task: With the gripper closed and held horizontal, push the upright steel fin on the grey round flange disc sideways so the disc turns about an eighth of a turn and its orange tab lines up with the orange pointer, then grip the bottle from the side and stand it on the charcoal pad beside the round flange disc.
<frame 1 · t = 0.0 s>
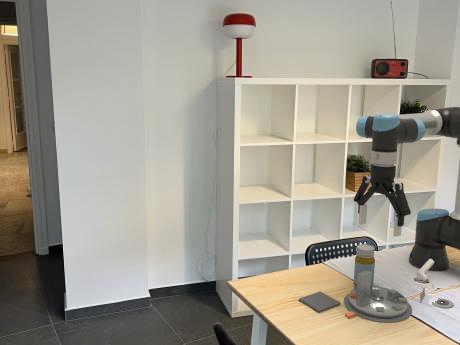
hand: (379, 229, 142), 28 cm above the table, tool pointing down, fingers open, 13 cm apart
pointer: (350, 316, 144), on the table
bracket: (435, 303, 153), on the table
round flange disc: (378, 286, 149), point 7 cm above the table, hinge at 0.0°
hook: (421, 284, 167), on the table
bottle: (363, 285, 166), on the table
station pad: (319, 302, 153), on the table
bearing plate: (377, 305, 151), on the table
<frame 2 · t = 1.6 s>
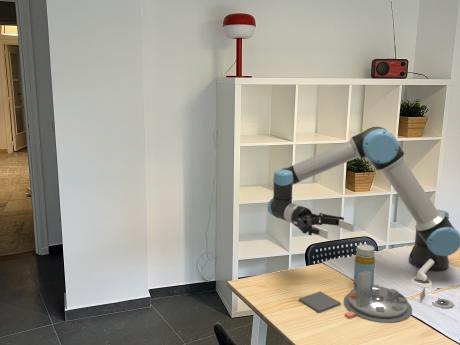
hand: (340, 231, 152), 24 cm above the table, tool horizontal, fingers open, 12 cm apart
nothing on the table moved.
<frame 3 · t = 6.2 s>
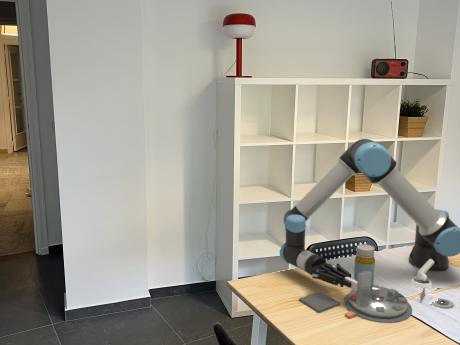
hand: (360, 288, 146), 8 cm above the table, tool horizontal, fingers closed
round flange disc: (378, 286, 149), point 7 cm above the table, hinge at 0.3°, touching gripper
everything else where it was.
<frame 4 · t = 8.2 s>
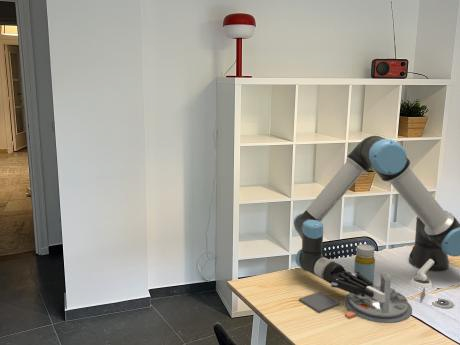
hand: (383, 298, 139), 8 cm above the table, tool horizontal, fingers closed
round flange disc: (378, 286, 149), point 7 cm above the table, hinge at 54.6°, touching gripper
everything else where it was.
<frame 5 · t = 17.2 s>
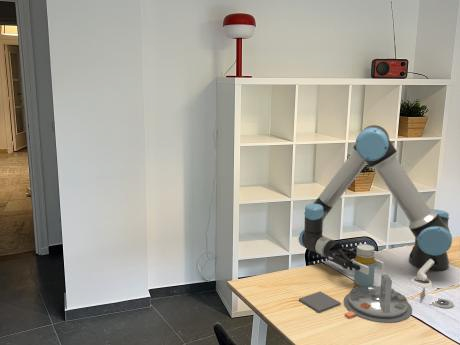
hand: (375, 268, 160), 9 cm above the table, tool horizontal, fingers closed on bottle, 7 cm apart
round flange disc: (378, 286, 149), point 7 cm above the table, hinge at 56.5°
bottle: (363, 285, 166), on the table, touching gripper
everything else where it was.
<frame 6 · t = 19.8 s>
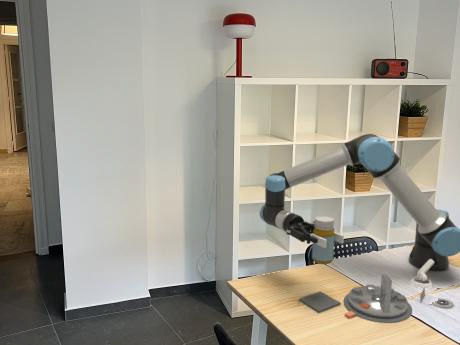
hand: (334, 241, 146), 23 cm above the table, tool horizontal, fingers closed on bottle, 7 cm apart
bottle: (322, 261, 152), point 14 cm above the table, touching gripper
everything else where it was.
when the fingers open (10 cm above the table, at t = 22.6 s): bottle drops 1 cm, resting on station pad.
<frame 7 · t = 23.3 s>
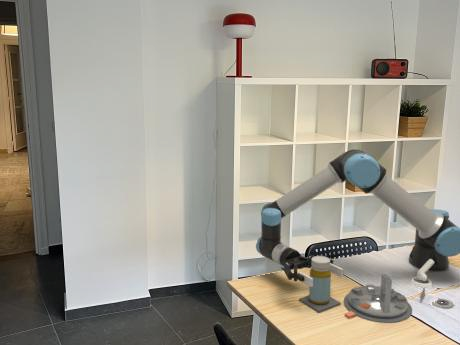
hand: (327, 277, 148), 10 cm above the table, tool horizontal, fingers open, 13 cm apart
bottle: (319, 300, 153), point 1 cm above the table, touching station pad
everything else where it was.
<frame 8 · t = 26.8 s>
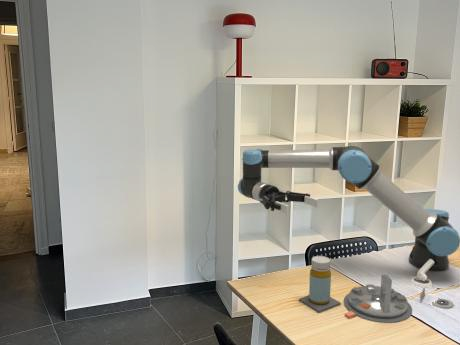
hand: (303, 206, 154), 32 cm above the table, tool horizontal, fingers open, 13 cm apart
nothing on the table moved.
at the end: round flange disc at +56° (first picture: +0°); bottle inside the target area on the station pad (0.1 cm from its centre), point 0.6 cm above the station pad's base; bottle tilted 0° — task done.
